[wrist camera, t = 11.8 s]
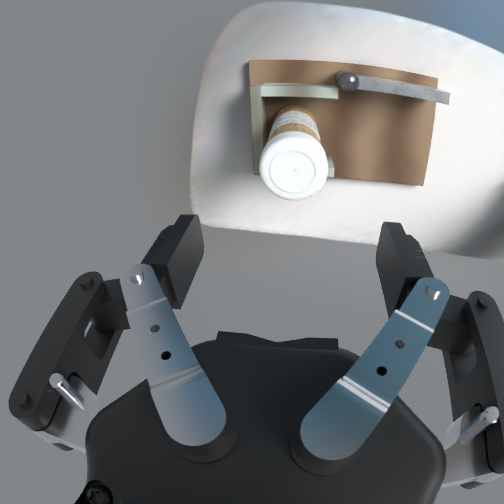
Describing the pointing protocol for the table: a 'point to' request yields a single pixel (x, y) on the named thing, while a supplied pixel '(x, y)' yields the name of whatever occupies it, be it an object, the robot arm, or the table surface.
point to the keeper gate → (389, 86)
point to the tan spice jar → (294, 155)
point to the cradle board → (347, 118)
